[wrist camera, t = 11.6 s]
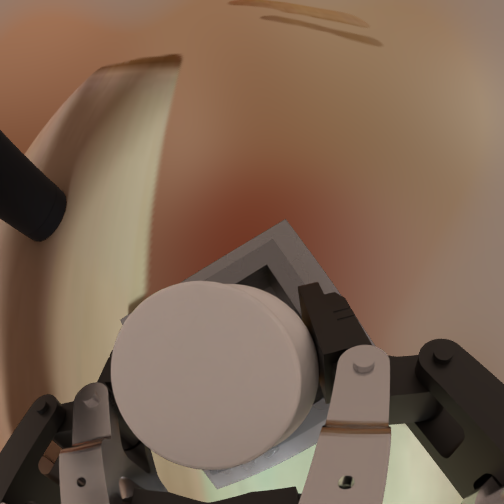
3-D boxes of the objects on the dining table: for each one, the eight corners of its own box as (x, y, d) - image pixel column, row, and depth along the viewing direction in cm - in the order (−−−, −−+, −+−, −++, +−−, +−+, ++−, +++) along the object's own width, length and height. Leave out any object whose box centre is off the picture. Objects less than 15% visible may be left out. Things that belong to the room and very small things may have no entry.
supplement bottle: (227, 300, 15) (147, 213, 6) (319, 338, 14) (381, 301, 5) (186, 386, 14) (59, 409, 5) (277, 429, 12) (264, 532, 3)
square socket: (220, 482, 14) (199, 519, 9) (128, 322, 19) (82, 307, 14) (393, 383, 16) (432, 390, 11) (285, 226, 21) (285, 182, 16)
